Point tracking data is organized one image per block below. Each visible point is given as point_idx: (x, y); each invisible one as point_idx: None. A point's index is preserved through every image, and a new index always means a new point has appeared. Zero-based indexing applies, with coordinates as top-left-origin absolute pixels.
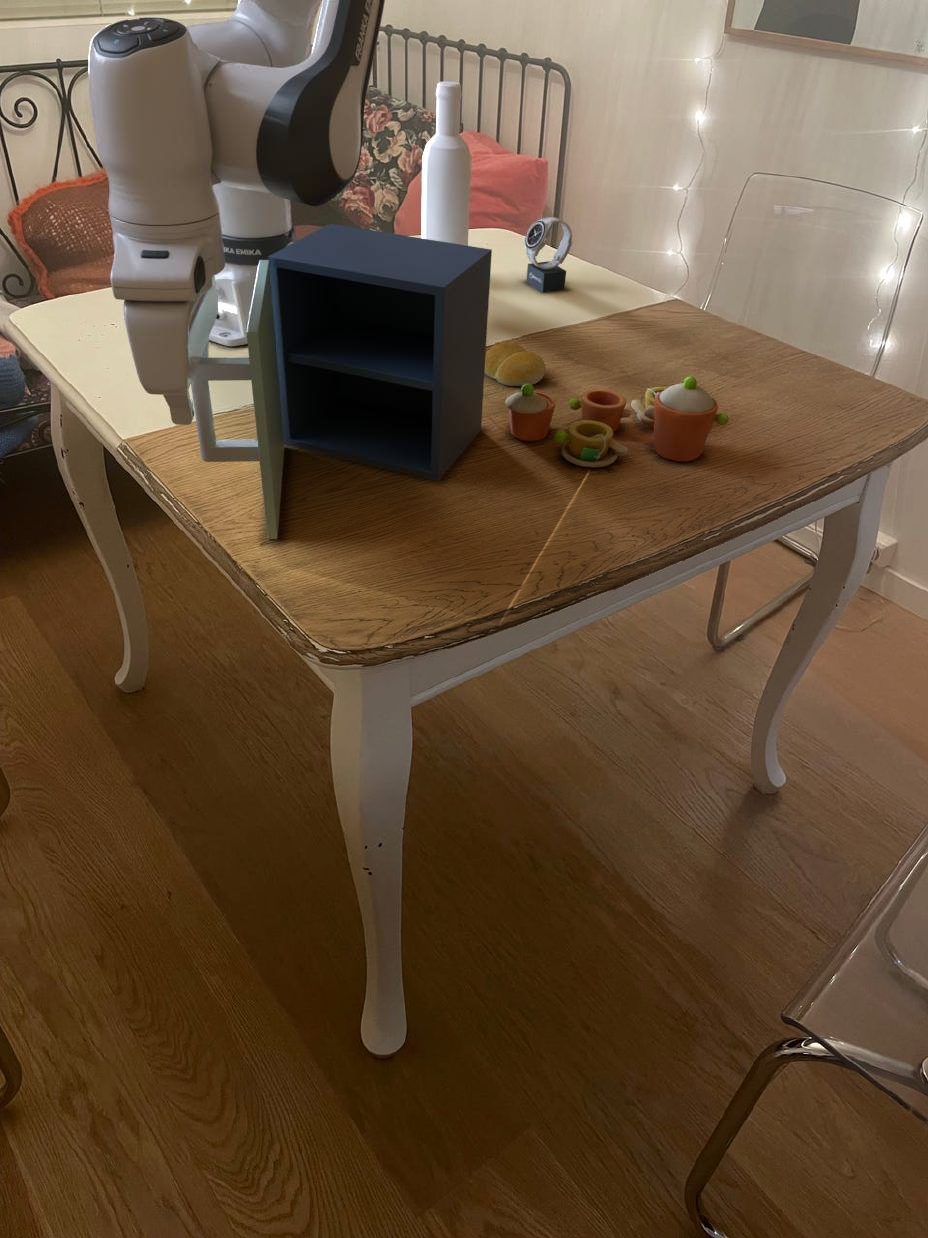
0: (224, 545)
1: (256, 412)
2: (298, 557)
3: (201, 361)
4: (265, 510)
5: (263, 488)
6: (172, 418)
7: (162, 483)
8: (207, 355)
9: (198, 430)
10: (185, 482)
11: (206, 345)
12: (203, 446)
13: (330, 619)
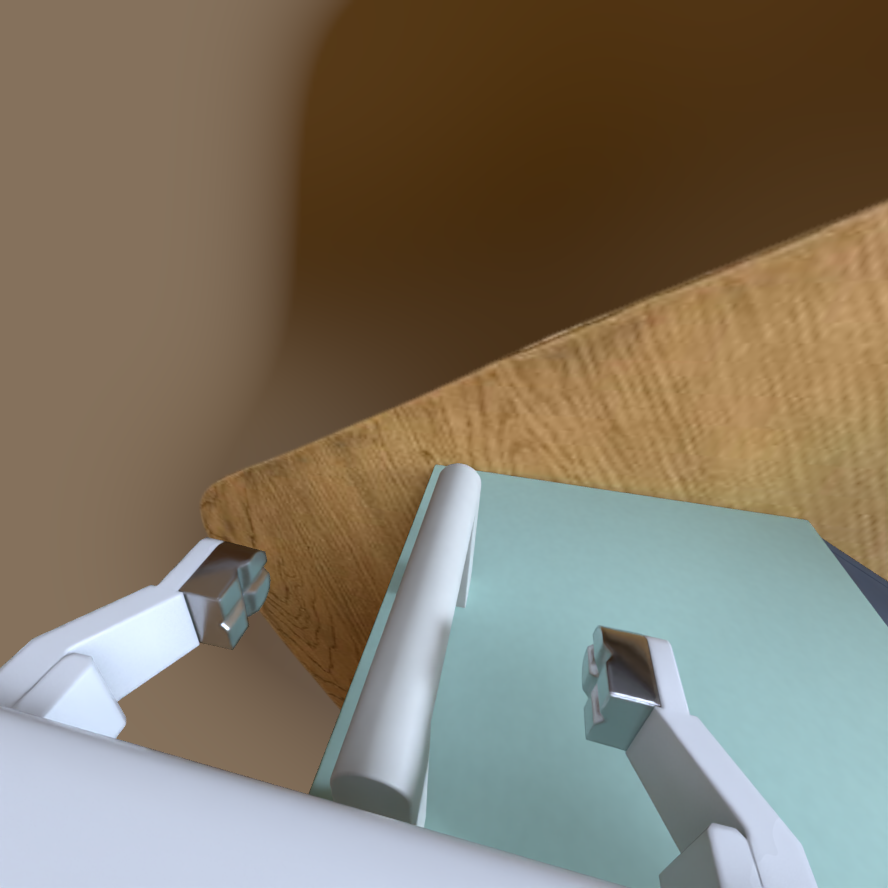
0: (427, 395)
1: (345, 702)
2: (386, 496)
3: (363, 804)
4: (422, 501)
5: (408, 534)
6: (194, 549)
7: (735, 262)
8: (638, 774)
9: (429, 522)
10: (717, 322)
11: (670, 831)
12: (432, 497)
13: (248, 508)
